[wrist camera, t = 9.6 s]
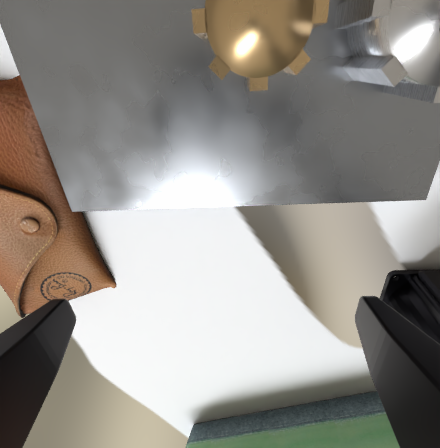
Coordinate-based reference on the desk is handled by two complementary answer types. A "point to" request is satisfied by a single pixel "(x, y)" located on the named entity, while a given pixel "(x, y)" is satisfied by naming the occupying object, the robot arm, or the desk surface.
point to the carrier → (232, 99)
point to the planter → (303, 427)
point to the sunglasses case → (39, 216)
